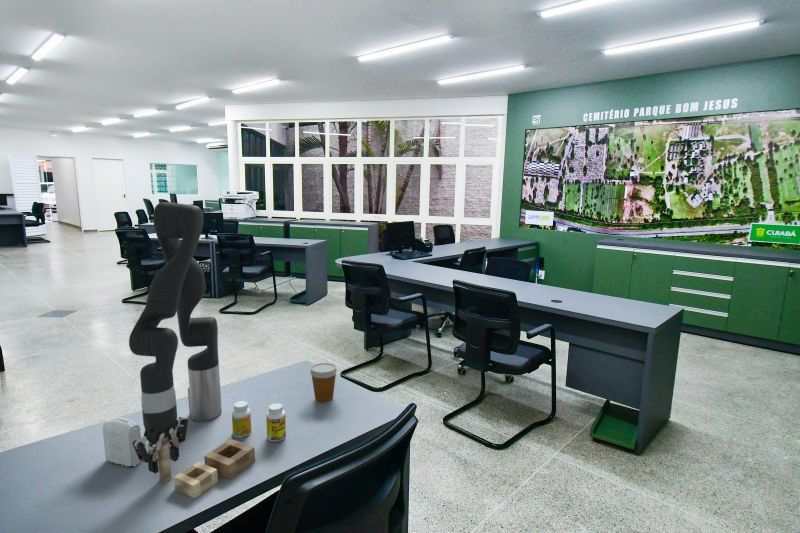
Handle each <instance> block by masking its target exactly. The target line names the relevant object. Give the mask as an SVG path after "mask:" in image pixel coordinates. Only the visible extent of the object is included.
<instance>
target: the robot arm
mask: <svg viewBox="0 0 800 533" xmlns="http://www.w3.org/2000/svg"><path fill="white" fill-rule="evenodd" d="M152 215H153V216H152V220H153V221H152V222H153V228H154V231H155V234H156V237H157V240H158V244H159V245H160V249H161V251H162V254H163V258H164V261H165V262H164V263H165V264H164V265H163V267H161V269H160V270H158V272H157V273H156V274H155V276H154V277H153V279H152V281H151V282H150V286H149V290H148V294H147V297H146V302H145V307H144V309H143V310H142V312H141V313H140V316H139V318H138V319H137V321H136V323H135V325H134V326H133V328H132V329H131V332H130V335H129V339H128V346H129V350H130V351H131V352H132V353H133V354H134V355H136V356H140V357H141V356H143V357H153V358H155V362H151V363H148V364H146V365H144V366H142V368H141V369H140V372H139V374H140V375H139V377H140V378H139V379H140V388H141V396H140V399H141V401H140V404H141V411H142V413H141V414H142V422H143V427H144V433H143V436H141V439H140V440H138V441H137V440H135V441H133V447H134V449H135V451H136V454H137V456H138V458H139V460H141V462H144V463H146V464H147V467H148V471H149V472H150V473H153V474H154V475H155V474H158V473H159V463H158V451H160V448H161V445H162V442H163V439H164V438H166V437H168V441H169V454H170V461H173V462H175V463H176V462H177V461H179V458H180V445H181V443H184V442H185V441H186V439H187V432H188V424H189V419H188V418H185V417H183V416H180V417H178V408H177V397H176V390H175V384H174V383H175V382H174V374H173V373H174V372H173V369H174V365H175V359H176V355H177V352H178V351H177V350H178V346H179V339H178V335H177V333H176V332H175V331H174V330H173V329H172V328H170V327H158V326H159V325H160V323H161V322H162V321H163V320H168V319H172V318H174V317H175V316H176V314H177V323H178V333H179V338H180V341H181V343H182V345H183V346H184V347H187V348H194V347H195V348H197V347H205V346H206V348H205V349H203V350H202V351H200V352H197V353H194V354H192V355H191V356H189V358H188V360H187V375H188V376H187V377H188V387H187V399H188V410H189V413H188V414H189V415H190V416H191V419H192V420H194V421H198V422H203V421H206V422H207V421H211V420H213V419H216V418H217V417H219V416H220V415H221V414H222V396H221V394H222V393H221V379H220V378H221V377H220V360H219V344H218V343H219V342H218V341H219V340H218V339H219V335H218V334H219V333H218V332H219V331H218V329H219V326H218V321H217V319H216V318H215V317H214V316H201V317H199V316H198V317H191V315H192V313H193V311H194V310H195V308H197V306H198V304H199V303H200V302H201V300H202V299H203V297H204V296H205V293H206V290H207V286H206V277H205V273H204V270H203V267H202V266H201V264H199V262H198V261H197V260H196V258H194V255H195V251H196V248H197V246H198V243H199V241H200V238H201V234H202V233H203V232H202V231H203V226H204V219H205V218H204V212H203V210H202V209H201V207H199V206H197V205H194V204H187V203H186V204H185V203H179V202H170V201H169V202H167V201H165V202H162V201H161V202H159V203H157V204H156V206H155V207H154V209H153V214H152Z"/></svg>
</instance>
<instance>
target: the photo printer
mask: <svg viewBox="0 0 800 533" xmlns="http://www.w3.org/2000/svg"><path fill="white" fill-rule="evenodd" d="M102 434H103V435H102V436H103V443H104V445H103V446H104V456H105V460H106V461H107V460H108V461H107V462H109V461H111V462H110V463H112V462H114V463H113V464H116V463H117V464H116V465H119V464H121V465H120V466H123V465H125V466H124V467H127V466H134V465H137V464H138V465H140V464H141V463H140V462H142V461H141V460H139V458H138V456H137V454H136V451H135V449H134V447H133V441H135V440H137V441H138V440H140V439H141V438H142V434H141V427H140V425H139V424H137V423H136V422H134V421H133V420H130V419H127V418H123V417H112V418H109V419H108V420H105V421H104V423H103V425H102ZM139 463H140V464H139ZM138 465H137V466H138ZM134 467H135V466H134Z"/></svg>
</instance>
